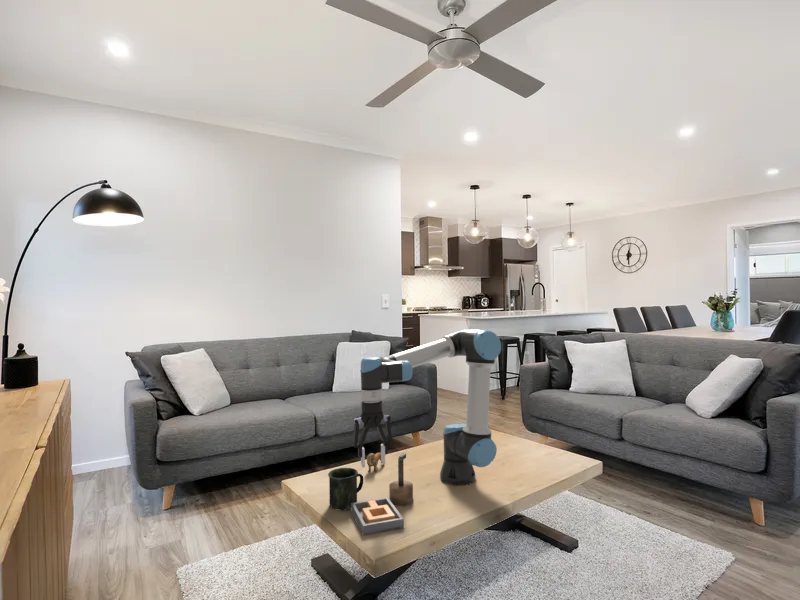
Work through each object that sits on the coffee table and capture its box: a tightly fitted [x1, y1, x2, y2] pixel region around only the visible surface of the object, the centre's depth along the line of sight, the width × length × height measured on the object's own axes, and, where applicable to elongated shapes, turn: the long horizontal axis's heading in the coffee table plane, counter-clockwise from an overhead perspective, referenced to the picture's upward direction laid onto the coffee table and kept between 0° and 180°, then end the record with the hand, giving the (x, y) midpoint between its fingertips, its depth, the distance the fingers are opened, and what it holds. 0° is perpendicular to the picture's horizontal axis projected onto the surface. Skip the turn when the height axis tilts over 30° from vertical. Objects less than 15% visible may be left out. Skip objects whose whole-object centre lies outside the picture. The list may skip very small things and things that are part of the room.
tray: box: [350, 497, 405, 536], centre depth 153 cm, size 14×18×3 cm
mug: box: [327, 467, 364, 511], centre depth 166 cm, size 11×15×12 cm
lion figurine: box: [366, 452, 386, 473], centre depth 202 cm, size 15×5×9 cm, turn 163°
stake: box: [388, 453, 414, 507], centre depth 168 cm, size 9×9×18 cm
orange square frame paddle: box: [362, 499, 395, 524], centre depth 154 cm, size 14×9×3 cm, turn 19°
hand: (373, 464), depth 158 cm, fingers open, 7 cm apart
